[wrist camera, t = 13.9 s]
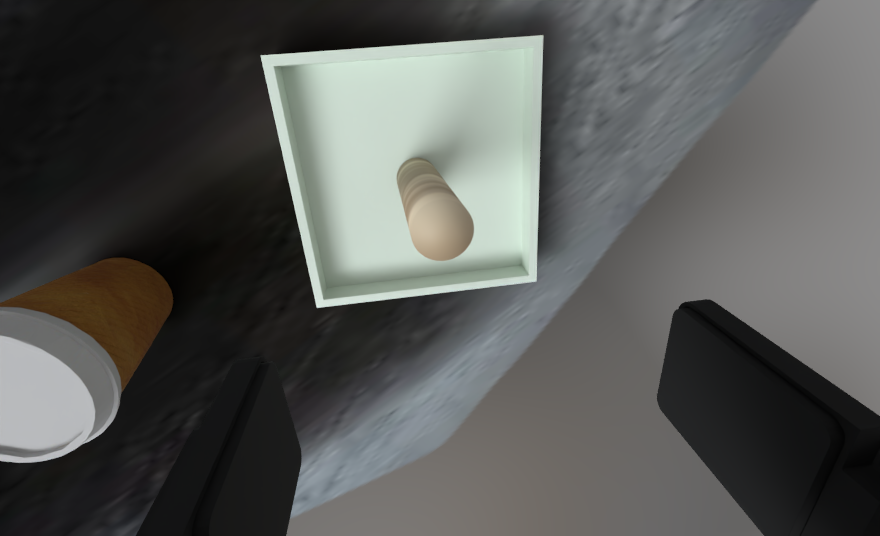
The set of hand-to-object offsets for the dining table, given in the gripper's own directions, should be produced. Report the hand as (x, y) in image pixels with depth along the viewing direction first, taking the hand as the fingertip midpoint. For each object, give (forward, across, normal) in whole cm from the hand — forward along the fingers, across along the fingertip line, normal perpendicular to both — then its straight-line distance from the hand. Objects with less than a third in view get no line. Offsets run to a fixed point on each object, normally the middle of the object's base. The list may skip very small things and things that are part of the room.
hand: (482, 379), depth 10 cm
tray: (+24, 0, 0) cm, 24 cm away
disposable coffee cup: (+24, +23, +8) cm, 34 cm away
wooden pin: (+23, 0, 0) cm, 23 cm away
